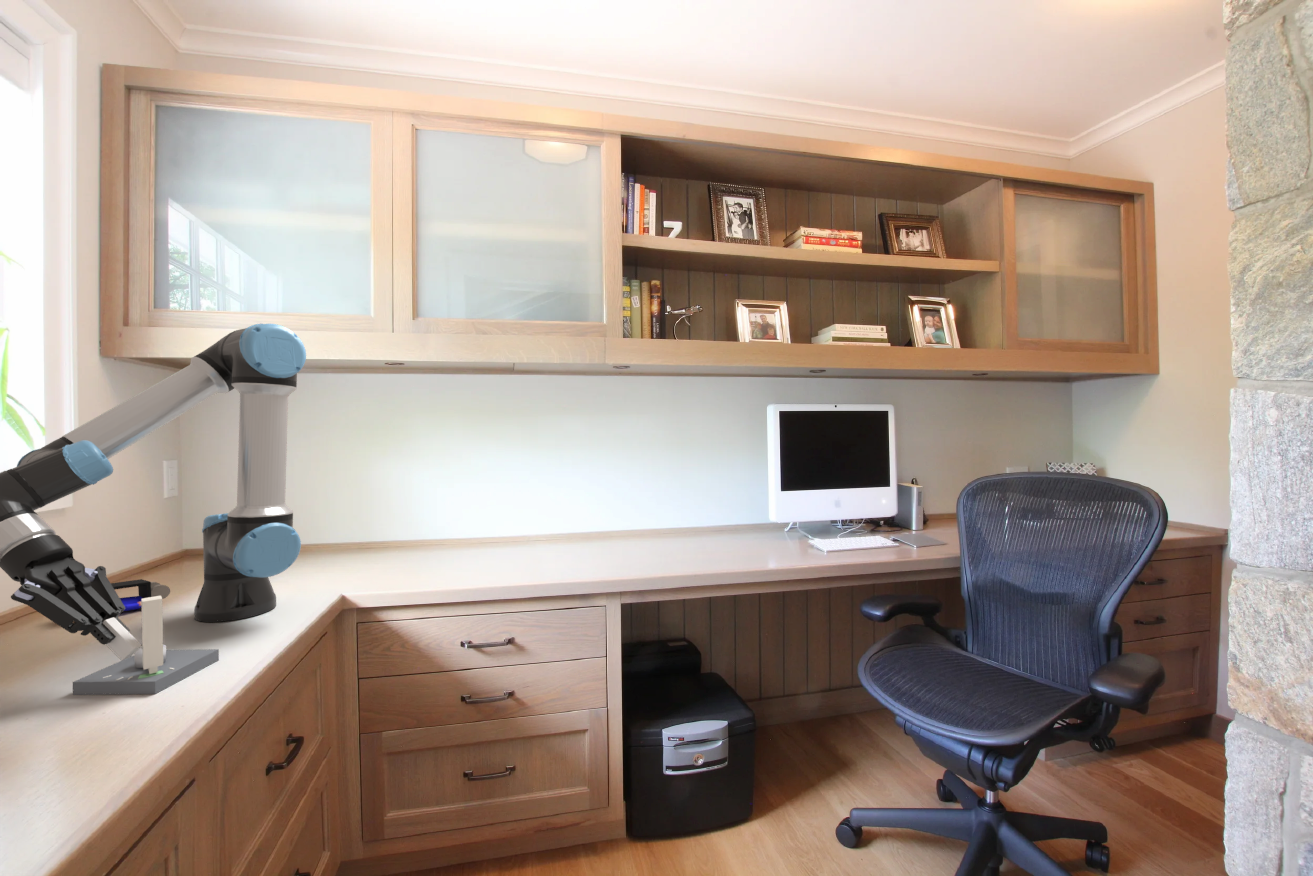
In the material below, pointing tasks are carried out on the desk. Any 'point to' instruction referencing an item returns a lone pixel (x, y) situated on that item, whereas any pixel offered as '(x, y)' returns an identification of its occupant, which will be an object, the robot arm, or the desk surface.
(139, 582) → the figurine character
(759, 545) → the desk surface
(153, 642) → the lever
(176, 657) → the dial plate
